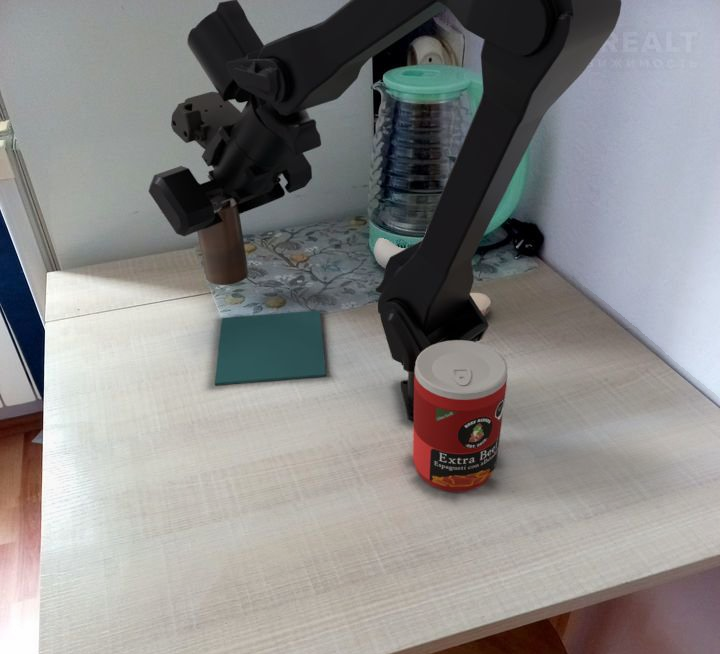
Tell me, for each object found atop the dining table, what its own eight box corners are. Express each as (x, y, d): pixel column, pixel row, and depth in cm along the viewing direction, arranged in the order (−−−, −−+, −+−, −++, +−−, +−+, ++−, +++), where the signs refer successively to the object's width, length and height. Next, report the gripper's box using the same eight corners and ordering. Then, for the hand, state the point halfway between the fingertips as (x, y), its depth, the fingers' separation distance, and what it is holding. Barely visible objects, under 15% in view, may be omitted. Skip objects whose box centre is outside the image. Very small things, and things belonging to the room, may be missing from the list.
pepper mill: (247, 283, 85) (233, 190, 78) (204, 286, 85) (186, 194, 78) (249, 264, 89) (235, 174, 82) (207, 267, 89) (190, 177, 82)
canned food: (430, 502, 61) (434, 400, 54) (400, 446, 67) (401, 348, 60) (510, 483, 63) (525, 382, 56) (475, 430, 69) (484, 332, 62)
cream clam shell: (483, 325, 84) (485, 306, 82) (443, 318, 85) (444, 299, 84) (493, 308, 87) (495, 290, 85) (454, 302, 88) (455, 283, 86)
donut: (430, 243, 102) (364, 252, 100) (431, 219, 99) (363, 229, 97) (458, 272, 94) (387, 283, 92) (460, 248, 92) (387, 259, 90)
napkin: (325, 376, 77) (325, 374, 77) (215, 385, 76) (214, 382, 76) (319, 312, 87) (319, 310, 87) (222, 319, 87) (222, 317, 87)
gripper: (284, 51, 75) (233, 141, 88) (135, 90, 65) (103, 185, 78) (341, 142, 76) (283, 217, 89) (204, 194, 66) (161, 271, 79)
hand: (211, 220), depth 84 cm, fingers closed on pepper mill, 5 cm apart
